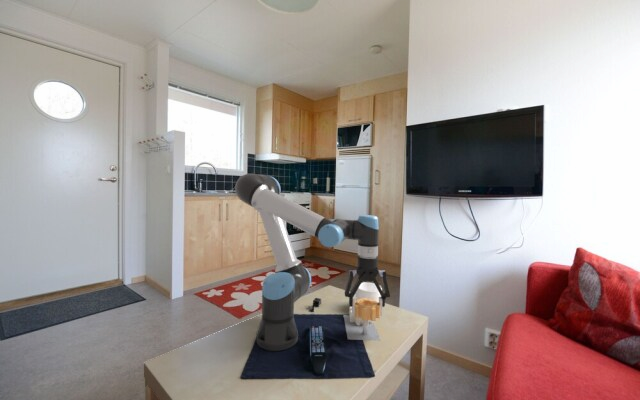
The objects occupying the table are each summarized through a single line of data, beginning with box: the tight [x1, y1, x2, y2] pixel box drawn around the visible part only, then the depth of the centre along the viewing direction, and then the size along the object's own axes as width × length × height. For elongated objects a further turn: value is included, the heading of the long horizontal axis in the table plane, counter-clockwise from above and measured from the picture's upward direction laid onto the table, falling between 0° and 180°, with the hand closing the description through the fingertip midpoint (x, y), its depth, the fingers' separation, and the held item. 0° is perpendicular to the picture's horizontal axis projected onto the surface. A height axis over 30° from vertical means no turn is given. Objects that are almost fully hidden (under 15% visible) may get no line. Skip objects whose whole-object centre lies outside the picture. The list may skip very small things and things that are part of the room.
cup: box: [355, 281, 383, 302], centre depth 124 cm, size 12×12×12 cm
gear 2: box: [348, 306, 374, 326], centre depth 113 cm, size 10×10×5 cm
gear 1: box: [354, 298, 381, 322], centre depth 102 cm, size 10×10×5 cm
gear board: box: [343, 314, 381, 341], centre depth 108 cm, size 12×19×8 cm, turn 0°
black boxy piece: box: [307, 297, 322, 313], centre depth 127 cm, size 12×7×5 cm, turn 163°
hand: (366, 314), depth 102 cm, fingers closed on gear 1, 10 cm apart
